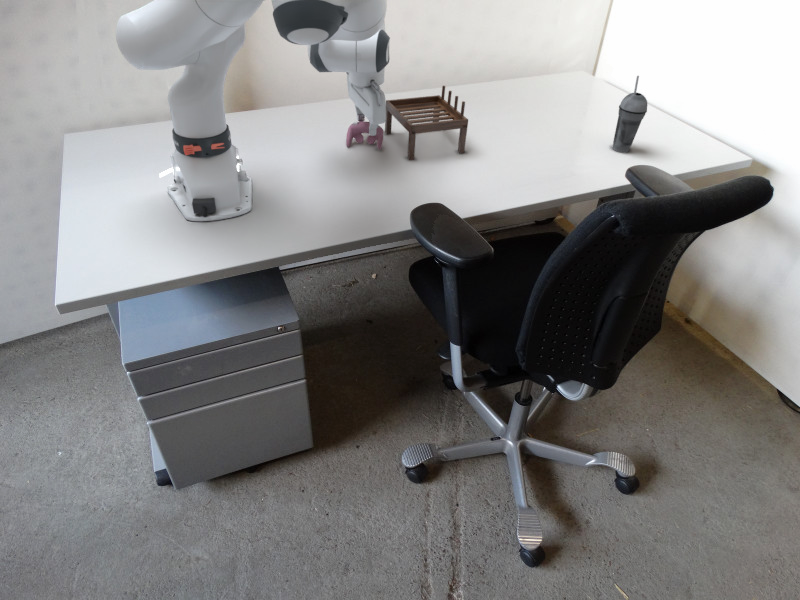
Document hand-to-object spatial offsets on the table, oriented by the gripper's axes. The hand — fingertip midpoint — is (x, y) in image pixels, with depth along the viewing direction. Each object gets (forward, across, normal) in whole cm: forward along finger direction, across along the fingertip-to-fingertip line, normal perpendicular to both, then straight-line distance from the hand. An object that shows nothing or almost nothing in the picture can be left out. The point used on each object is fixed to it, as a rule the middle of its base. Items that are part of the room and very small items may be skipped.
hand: (366, 127), depth 154 cm
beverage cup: (+6, -21, -68) cm, 71 cm away
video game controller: (+5, 0, 0) cm, 5 cm away
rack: (+5, -2, -16) cm, 17 cm away
